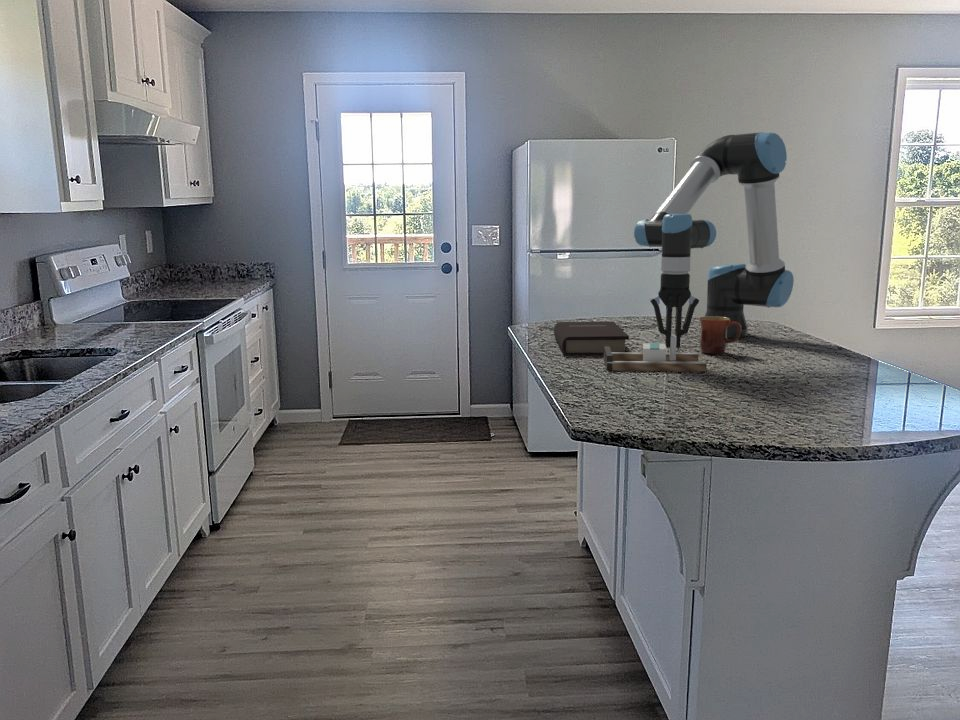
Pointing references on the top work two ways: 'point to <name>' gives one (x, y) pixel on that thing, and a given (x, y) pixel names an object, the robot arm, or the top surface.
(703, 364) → the rail board
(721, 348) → the mug
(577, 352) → the book
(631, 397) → the top surface
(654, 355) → the block
